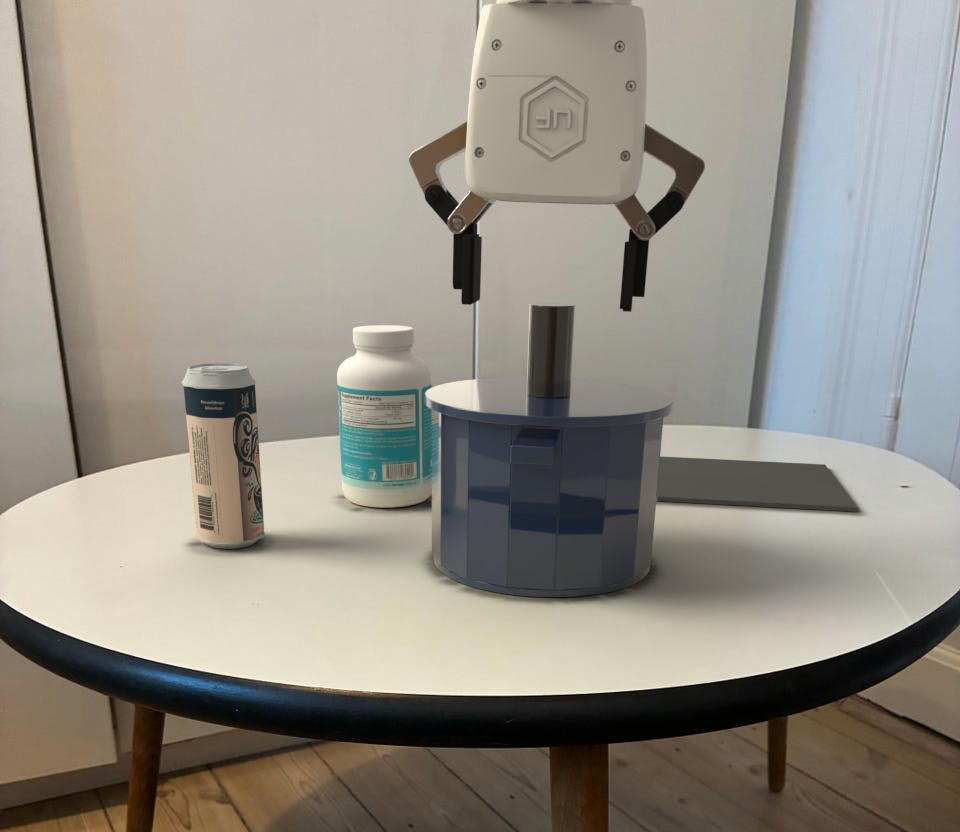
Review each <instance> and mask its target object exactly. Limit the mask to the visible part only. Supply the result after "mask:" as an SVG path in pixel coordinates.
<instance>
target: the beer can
mask: <svg viewBox="0 0 960 832" xmlns="http://www.w3.org/2000/svg"><path fill="white" fill-rule="evenodd" d="M181 384H182V386H183V395H184V405H185V416H186V417H185V419H186V428H187V441H188V451H189V460H190V461H189V464H190V472H191V474H190V475H191V484H192V495H193V497H192V498H193V507H194V519H195V530H196V533H195V538H196V539H197V540H198V541H199V542H201V543H203V544H205V545H206V546H207V547H210V548H215V549H222V550H223V549H226V550H229V549H241V548H246V547H249V546H252V545H254V544H256V543H257V542H258V541H259V540H260V539H262V538H263V537H264V536H265V535H266V532H265V521H264V506H263V505H264V503H263V490H262V475H261V474H262V473H261V459H260V441H259V440H260V439H259V427H258V426H259V425H258V424H259V423H258V411H257V397H256V396H257V393H256V380H255V379H254V378H253V377H252V375H251V373H250V369H249V368H248V366H247V365H246V364H239V363H229V362H228V363H224V362H223V363H222V362H221V363H220V362H214V363H198V364H193V365H188V366H187V369H186V372H185V376H184V378H183V380H182V381H181Z"/></svg>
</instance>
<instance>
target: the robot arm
mask: <svg viewBox="0 0 960 832" xmlns="http://www.w3.org/2000/svg"><path fill="white" fill-rule="evenodd" d="M646 31H647V30H646V20H645V12H644V8H642V7H641V6H638V5H634V4H632V0H496V3H488V4H485V5H483V6H482V8H481V12H480V16H479V21H478V25H477V32H476V37H475V44H474V50H473V57H472V68H471V74H470V85H469V86H470V87H469V96H468V107H467V108H468V109H467V121H465V122H463V123H461V124H460V125H458V126H457V127H454V128H453V129H451V130H449V131H447V132H445V133H444V134H442V135H440V136H438V137H436V138H435V139H433V140H431V141H429V142H428V143H426V144H423V145H422V146H420V147H418V148H417V149H415V150H413V151H412V152H411V153H410V155H409V156H408V163H409V165H410V167H411V169H412V172H413V174H414V176H415V178H416V180H417V183H418V185H419V187H420V189H421V191H422V193H423V196H424V199H425V202H426V203H427V205H428V206H430V208H431V209H432V210H433V212H434V213H435V214H436V215H437V216H438V217H439V218H440V220H442V221H443V223H444V224H445V225H446V226H447V228H448V230H449V231H450V233H451V234H453V238H452V241H453V242H452V243H453V244H452V289H453V290H461V295H460V297H461V298H460V302H461V305H465V306H466V305H469V306H471V305H473V304H475V303H477V302H478V301H480V300H481V280H482V279H481V278H482V250H483V249H482V247H483V245H482V243H483V239H482V236H481V235H480V234H479V233H478V223H479V222H480V221H481V220H482V218H483V217H484V216H485V214H487V212H488V211H489V210H490V209H491V207H492V206H493V205H494V203H496V201H498V202H499V201H500V202H509V203H533V204H534V203H537V204H562V205H563V204H566V205H614V206H615V208H616V209H617V210H618V212H619V214H620V215H621V217H622V218H623V219H624V221H625V222H626V223H627V225H628V227H629V228H630V229H629V231H628V241H624V249H623V261H622V274H621V287H620V299H619V302H620V303H619V310H622V312H626V313H627V312H628V313H629V312H631V313H632V309H633V299H634V298H645V293H646V281H647V272H648V271H647V270H648V258H649V247H650V240H651V239H652V238H653V237H654V236H655V235H656V234H657V233H658V232H659V231H660V230H661V229H662V228H663V227H665V226H666V225H667V224H668V223H669V222H670V221H671V220H672V219H673V218H675V216H676V215H677V214H679V212H680V211H682V209H683V207H684V206H685V204H686V202H687V201H688V199H689V197H690V196H691V194H692V192H693V191H694V189H695V187H696V185H697V184H698V182H699V181H700V178H701V177H702V175H703V174H704V172H705V169H706V163H705V160H703V159H702V158H701V157H700V156H698V155H696V154H695V153H693V152H692V151H690V150H688V149H687V148H685V147H684V146H682V145H680V144H679V143H677V142H676V141H674V140H673V139H671V138H669V137H668V136H666V135H665V134H663V133H661V132H660V131H658V130H656V129H655V128H653V127H651V126H650V125H648V124H647V123H646V112H647V89H648V87H647V85H648V84H647V83H648V52H647V51H648V50H647V32H646ZM464 152H465V153H464ZM463 153H464V154H465V155H464V157H465V159H464V174H465V175H464V176H465V183H466V186H467V188H468V189H469V191H468V192H467V194H466V195H464V196H465V197H464V198H463V199H462V200H461V201H460V202H459V201H457V198H455V197H454V195H453V194H452V193H451V192H450V191H449V190H448V189H447V188H446V186H445V183H444V181H443V178H442V176H441V173H440V172H441V171H440V169H441V166H442V165H443V164H445V163H446V162H448V161H449V160H452V159H453V158H455V157H457V156H459V155H461V154H463ZM644 153H645V154H646V155H648V156H650V157H651V158H653V159H654V160H656V161H658V162H659V163H661V164H663V165H665V167H667V168H669V169H671V170H672V171H673V173H674V179H673V181H672V183H671V185H670V187H669V189H668V190H667V192H666V193H665V195H664V196H663V197H662V198H661V199H660V200H659V201H658V202H657V203H655V205H654V206H652V208H651V209H650V210H649V211H646V210H645V207H644V206H643V205H642V203H641V202H640V200H639V199H638V198H637V196H636V194H637V192H638V189H639V187H640V184H641V180H642V179H641V178H642V175H643V174H642V172H643V166H644V165H643V164H644V155H645V154H644ZM633 297H634V298H633Z"/></svg>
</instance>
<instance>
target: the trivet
mask: <svg viewBox="0 0 960 832" xmlns="http://www.w3.org/2000/svg"><path fill="white" fill-rule="evenodd" d="M656 502H665V503H666V502H669V503H686V504H702V505H703V504H705V505H720V506H721V505H723V506H740V507H741V506H742V507H761V508H779V509H798V510H814V511H816V510H817V511H835V512H853V513H857V512H858V506H857V505H856V503H855V502H854V501H853V500H852V498H851V497H850V495H849V494H848V493H847V491H846V489H844V488H843V486H842V485H841V483H840V482H839V480H837V479H836V477H835V476H834V475H833V473H832V472H831V470H830V469H829V468H828V466H827V465H826V464H824V463H823V464H821V463H805V462H804V463H803V462H802V463H801V462H783V461H765V460H764V461H762V460H742V459H741V460H740V459H723V458H721V459H719V458H700V457H683V456H682V457H680V456H679V457H677V456H661V455H660V463H659V475H658V487H657V498H656Z"/></svg>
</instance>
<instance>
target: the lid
mask: <svg viewBox="0 0 960 832" xmlns="http://www.w3.org/2000/svg"><path fill="white" fill-rule="evenodd" d="M528 312H529V313H528V314H529V315H528V336H527V337H528V340H527V341H528V342H527V365H526V366H527V367H526V368H527V369H526V376H524V377H523V376H520V377H519V376H515V377H514V376H513V377H488V378H486V377H485V378H474V379H465V380H458V381H457V380H456V381H452V382H446V383H442V384H437V385H435V386H433V387H432V388H430V389H428V390H427V391H426V392H425V405H426V406H427V407H428V408H430V409H431V410H434V411H436V412H438V413H441V414H445V415H448V416H452V417H456V418H461V419H467V420H472V421H479V422H486V423H495V424H505V425H517V426H533V427H605V426H619V425H629V424H637V423H643V422H648V421H653V420H657V419H660V418H663V419H664V418H666V417H668V416H669V415H671V414H672V413H673V412H674V411H673V410H674V403H675V401H674V398H673V397H672V396H670V395H669V394H667V393H664V392H662V391H660V390H656V389H653V388H650V387H644V386H640V385H635V384H629V383H623V382H616V381H615V382H614V381H606V380H598V379H597V380H596V379H587V378H586V379H585V378H572V371H573V353H574V352H573V351H574V335H575V333H574V331H575V315H576V313H575V312H576V305H575V304H574V303H565V302H532V303H529V311H528Z"/></svg>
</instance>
